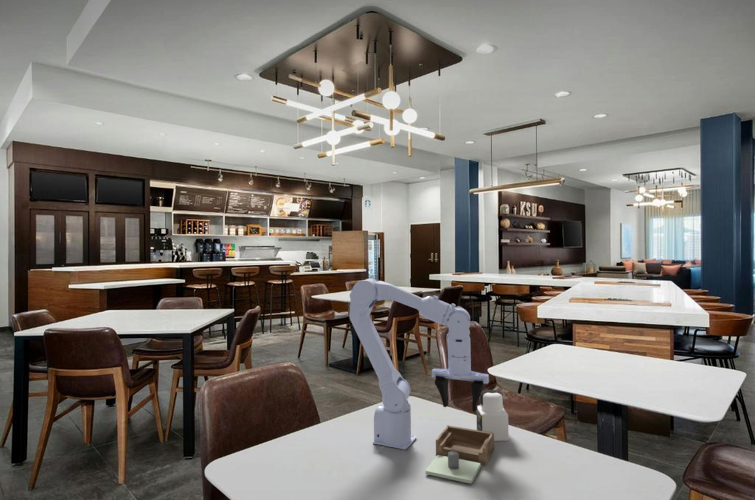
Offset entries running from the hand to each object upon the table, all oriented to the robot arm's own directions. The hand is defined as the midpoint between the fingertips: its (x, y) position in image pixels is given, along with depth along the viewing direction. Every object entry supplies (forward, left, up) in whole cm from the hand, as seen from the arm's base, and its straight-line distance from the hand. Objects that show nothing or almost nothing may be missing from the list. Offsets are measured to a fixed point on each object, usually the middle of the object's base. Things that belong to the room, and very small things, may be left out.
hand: (460, 408), depth 114 cm
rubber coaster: (+2, -14, -10) cm, 17 cm away
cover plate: (+2, -13, -10) cm, 17 cm away
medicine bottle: (+6, +10, -10) cm, 15 cm away
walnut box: (+2, -3, -10) cm, 11 cm away
